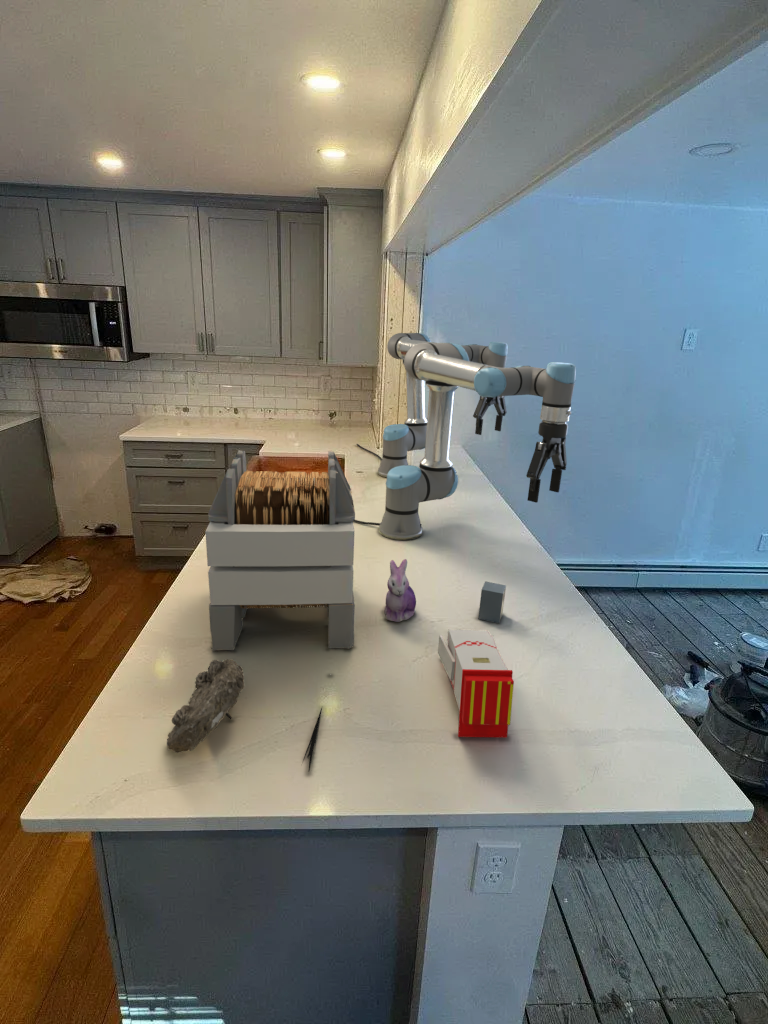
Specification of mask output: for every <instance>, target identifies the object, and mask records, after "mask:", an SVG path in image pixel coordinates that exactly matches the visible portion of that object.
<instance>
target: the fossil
mask: <svg viewBox="0 0 768 1024" xmlns="http://www.w3.org/2000/svg"><path fill="white" fill-rule="evenodd" d="M243 670H244V669H243V667H242V665H240V664H237V662H236V661H235V660H234V659H232V658H231V659H227V658H226V659H224V660H223V661H222V660H217V659H212V660H211V661H210V663H209V665H208V666H207V671H201V672H199V673H198V674H197V675H196V676H195V680H194V684H195V685H194V687H195V689H194V690H193V693H192V694H191V697H190V698H189V700H188V704H184V705H182V706H181V707H180V709H177V710H176V711H175V713H174V715H173V716H172V718H171V723H172V724H173V727H172V730H171V731H170V732H168V734H167V738H166V741H167V742H166V745H167V749H168V750H169V751H173V752H174V753H176V754H178V753H182V752H188V751H189V752H192V751H193V750H195V748H196V747H197V746H199V744H200V743H201V742H203V741H204V740H205V739H206V738H207V737H208V736H209V735H210V734H211V733H212V732H214V730H215V729H217V727H218V726H219V724H220V722H221V721H222V720H223V719H224V718H225V716H226V717H227V719H229V720H233V717H232V715H230V714H229V710H230V709H231V708H234V706H235V704H236V703H237V702H238V699H239V697H240V695H241V693H242V691H243V690H245V689H244V688H245V675H244V671H243Z"/></svg>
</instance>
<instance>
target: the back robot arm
mask: <svg viewBox="0 0 768 1024" xmlns="http://www.w3.org/2000/svg"><path fill="white" fill-rule="evenodd" d="M420 343H435V342H433V341H432V340H431V339H430V337H429V336H428V335H427V334H425V333H420V332H397V333H395V334H393V335H392V336H391V337H389V339H388V341H387V344H386V346H387V348H386V349H387V351H388V354H389V355H390V356H391V357H392V358H394V359H395V360H402V365H403V366H404V359H405V355H406V353H407V352H408V350H409V349H410V348H411V347H413V346H414V345H417V344H420ZM459 345H460V346H462V347H463V348H464V349H465V352H467V355H468V358H469V361H471V362H475V363H480V364H485V365H489V366H494V367H500V368H506V365H507V358H508V347H509V345H508V344H507V343H506V342H502V341H490V342H489V344H488V345H481V344H475V343H473V344H464V345H463V344H462V345H461V344H459ZM405 378H406V381H405V382H406V383H405V384H406V413H407V415H406V417H407V419H406V420H405V421H404V423H394V424H389V425H387V426H385V427H384V428H383V435H382V455H381V456H380V455H379V454H377V453H375V452H374V451H371V450H368V449H367V448H365V447H363V446H362V445H360V444H359V443H356V446H357V447H359V448H360V449H361V450H364V451H365V452H368V453H370V454H372V455H374V456H376V457H377V458H378V459H379V460H380V463H379V466H378V469H377V475H379V476H380V477H382V478H386V479H387V474H388V472H389V471H390V470H391V469H392V468H394V467H397V466H403V465H405V466H408V465H409V463H408V452H413V451H418V450H419V451H420V450H425V444H426V430H427V418H426V389H425V387H426V381H423V380H419V379H415V378H412V377H411V376H410V375H409V374H408V373H407V371H406V370H405ZM505 397H506V396H498V397H483V396H480V395H479V399H478V402H477V404H476V407H475V409H474V412H473V415H472V418H474V419H475V430H474V431H475V432H474V433H475V435H478V436H482V434H483V433H482V432H483V426H484V425H483V423H484V419H483V418H484V416H485V414H486V412H487V411H488V409H489V407H491V406H492V405H493V406H494V408H495V411H496V413H497V414H496V415H495V416H496V417H495V424H494V431H496V432H501V431H502V425H503V420H504V419H503V418H504V417H505V416H506V415H507V414H508V412H507V406H506V399H505Z"/></svg>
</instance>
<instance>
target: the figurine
mask: <svg viewBox="0 0 768 1024" xmlns="http://www.w3.org/2000/svg"><path fill="white" fill-rule="evenodd" d="M407 567H408V559H406V558H404V559H403V560H402V561H401V563H400V565H399V566H398V565H397V563H396V562H395V561H394V560H393V559H391V560H390V561H389V570H390V576H389V578H388V579H387V589H388V591H387V592H386V594H385V595H386V596H385V607H384V615H385V616H386V620H387V621H391V622H395V623H400V622H402V621H406V620H409V619H410V618H411V617H413V616H414V615H415V610H416V606H417V597H416V593H415V591H414V590H413V587H411V586H410V582H409V579H408V577H407V574H406V571H407Z"/></svg>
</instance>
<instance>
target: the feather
mask: <svg viewBox="0 0 768 1024" xmlns="http://www.w3.org/2000/svg"><path fill="white" fill-rule="evenodd" d="M329 675H330V676H331V675H332V674H331V673H330V674H329ZM322 710H323V707H321V708H320V710H319V713H318V716H317V719H316V723H315V725H314V728H313V731H312V733H311V737H310V739H309V742H308V745H307V748H306V751H305V754H304V757H303V760H302V763H301V767H302V765H303V763H304V761H305V758H308V759H309V760H308V762H307V763H308V764H307V766H308V771H310V770H311V766H312V765H311V764H312V760H313V757H315V756H314V755H315V751H316V749H315V746H317V739H318V733H319V729H320V722H321V717H322V712H323V711H322ZM313 754H314V755H313ZM306 755H307V757H306Z"/></svg>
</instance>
